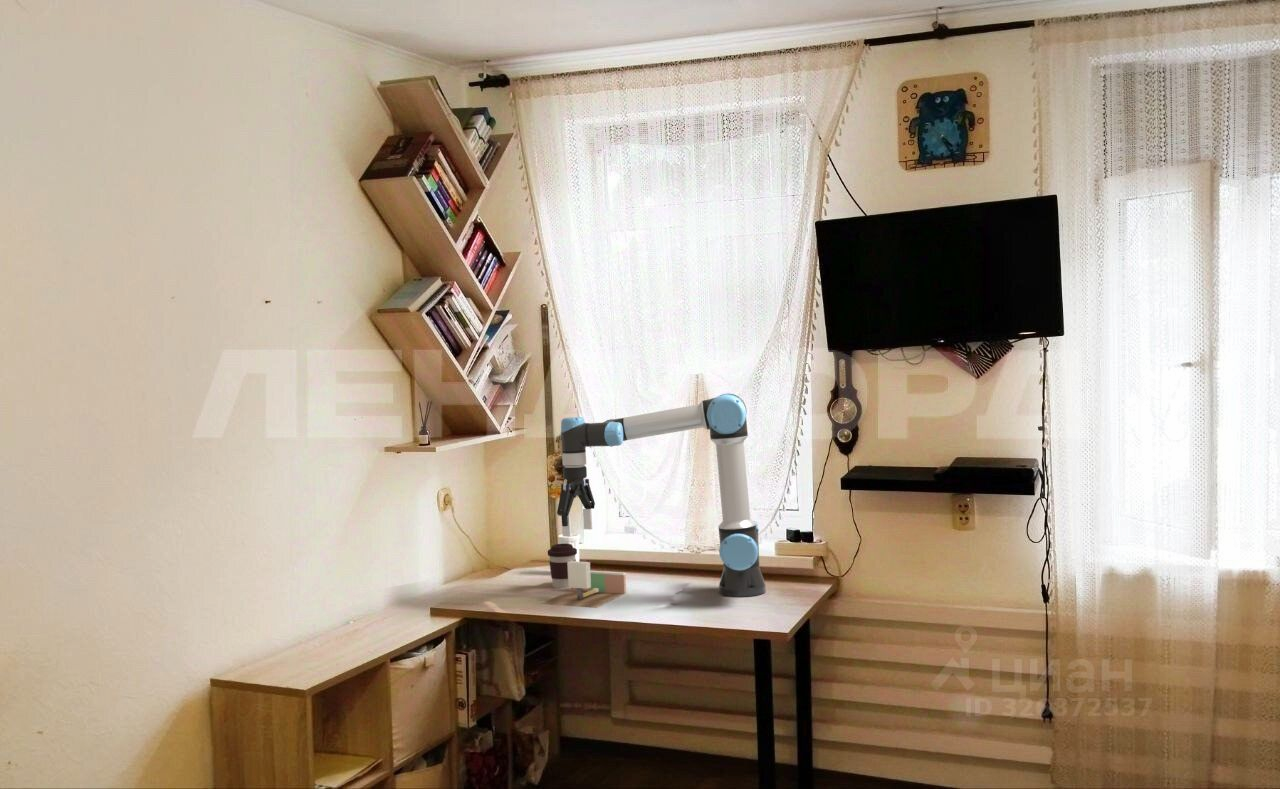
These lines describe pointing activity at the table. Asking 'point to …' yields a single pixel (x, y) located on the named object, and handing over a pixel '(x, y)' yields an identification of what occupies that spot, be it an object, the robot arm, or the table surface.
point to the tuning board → (588, 601)
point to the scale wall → (607, 582)
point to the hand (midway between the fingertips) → (577, 532)
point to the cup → (571, 542)
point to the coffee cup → (561, 563)
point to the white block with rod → (580, 578)
